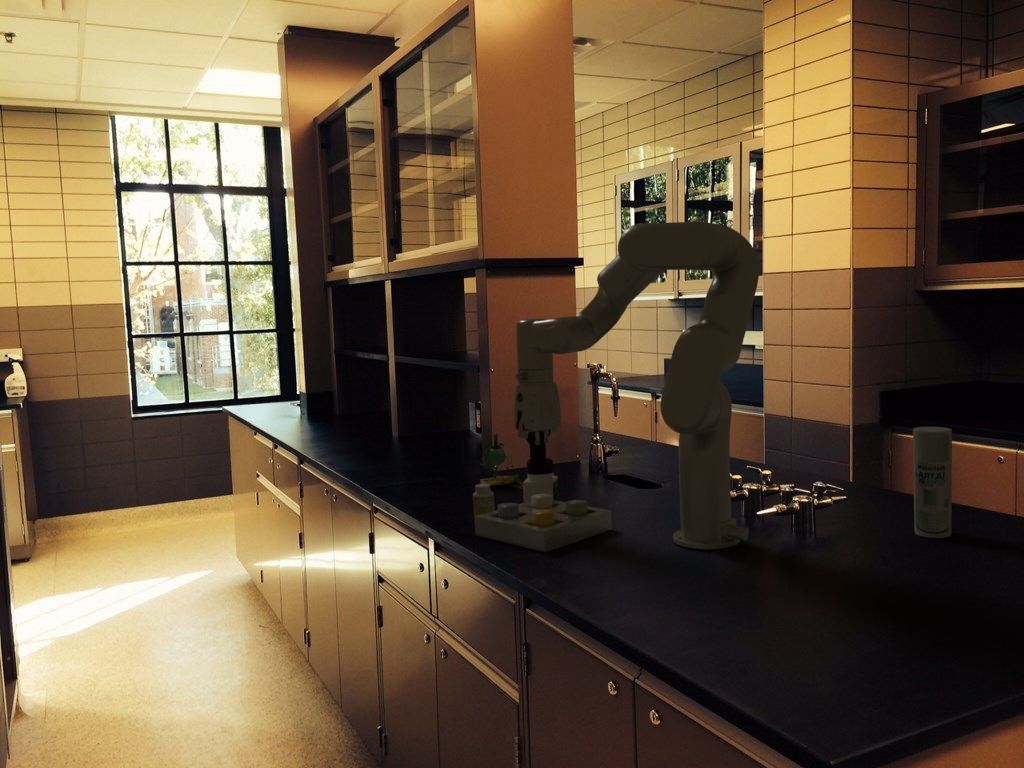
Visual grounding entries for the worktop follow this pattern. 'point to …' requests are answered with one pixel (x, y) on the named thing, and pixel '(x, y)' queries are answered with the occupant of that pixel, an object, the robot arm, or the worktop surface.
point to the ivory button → (542, 501)
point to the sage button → (576, 508)
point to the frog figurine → (497, 458)
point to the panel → (543, 538)
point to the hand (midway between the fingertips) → (538, 462)
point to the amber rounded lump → (543, 518)
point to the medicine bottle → (540, 480)
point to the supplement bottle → (483, 500)
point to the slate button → (508, 511)
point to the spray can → (932, 481)
